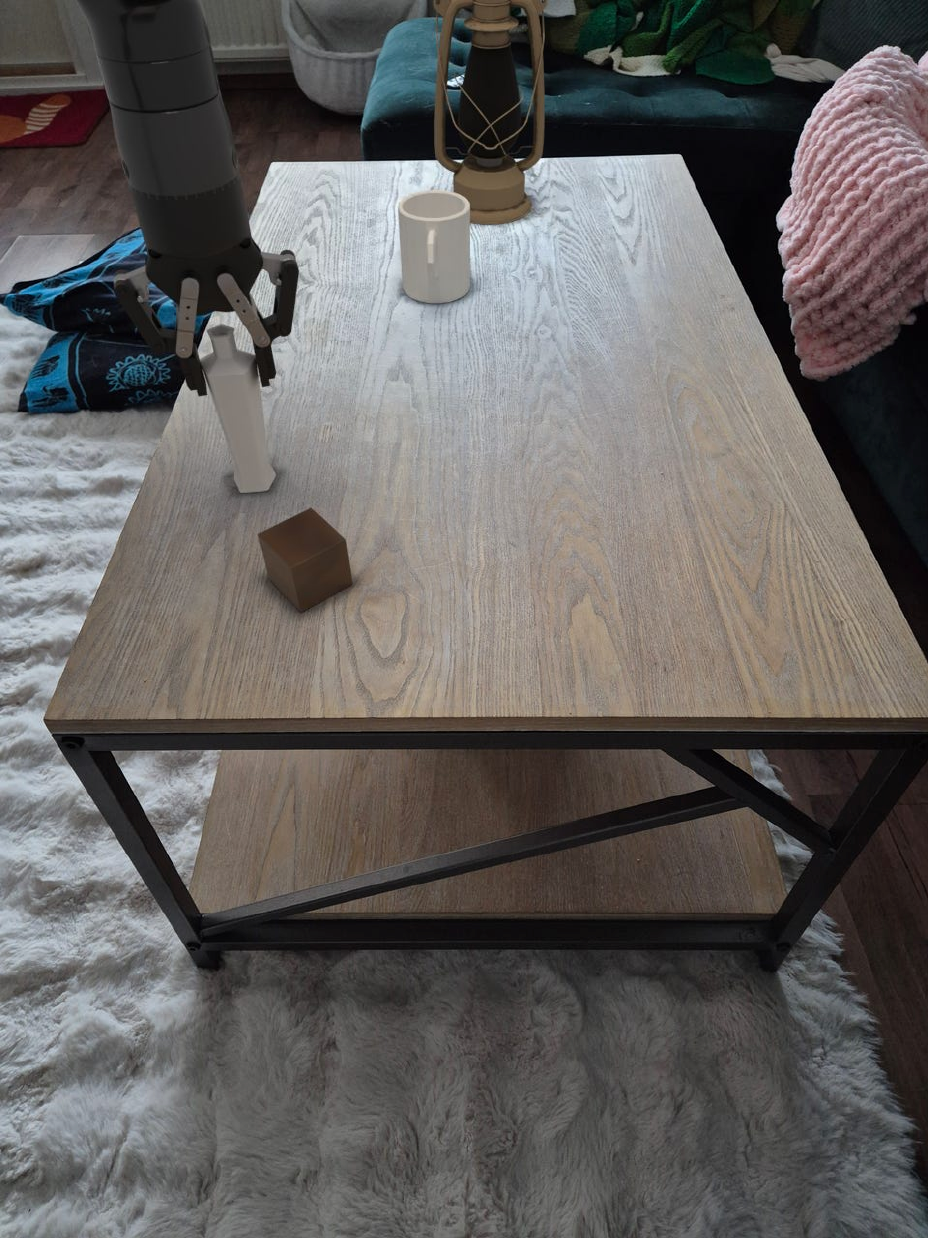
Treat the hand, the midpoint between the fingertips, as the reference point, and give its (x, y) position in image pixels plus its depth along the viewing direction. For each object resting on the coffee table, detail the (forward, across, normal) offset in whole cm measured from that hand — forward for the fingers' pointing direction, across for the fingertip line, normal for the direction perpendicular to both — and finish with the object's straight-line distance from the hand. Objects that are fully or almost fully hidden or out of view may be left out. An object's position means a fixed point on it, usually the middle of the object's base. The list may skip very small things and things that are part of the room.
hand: (233, 385), depth 71 cm
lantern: (+10, -37, -53) cm, 66 cm away
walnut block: (+10, -3, +14) cm, 18 cm away
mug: (+10, -24, -30) cm, 40 cm away
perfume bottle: (+11, 0, 0) cm, 11 cm away
